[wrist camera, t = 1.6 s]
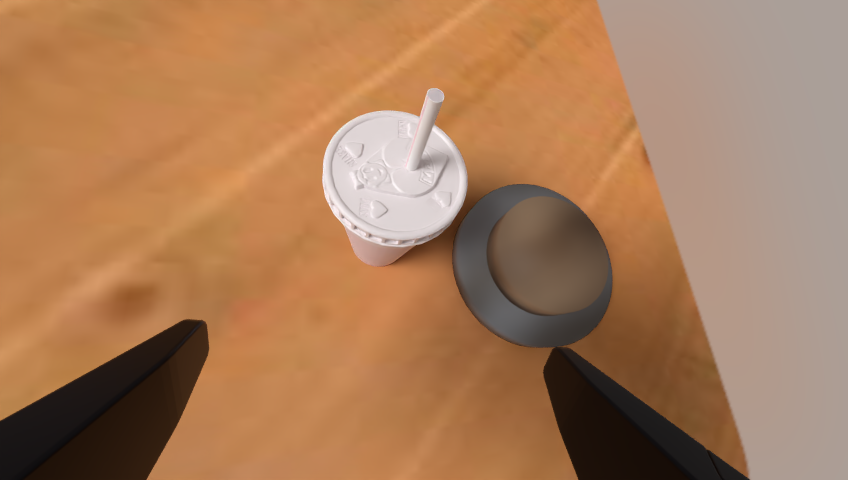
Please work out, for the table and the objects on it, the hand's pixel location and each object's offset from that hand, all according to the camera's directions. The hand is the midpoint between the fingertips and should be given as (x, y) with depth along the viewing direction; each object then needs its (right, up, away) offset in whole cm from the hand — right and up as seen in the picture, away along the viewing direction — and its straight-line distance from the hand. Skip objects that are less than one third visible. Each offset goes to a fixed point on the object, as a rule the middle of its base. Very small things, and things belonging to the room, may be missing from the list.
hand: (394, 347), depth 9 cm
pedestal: (+9, +1, +17) cm, 19 cm away
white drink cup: (-2, +3, +15) cm, 15 cm away
